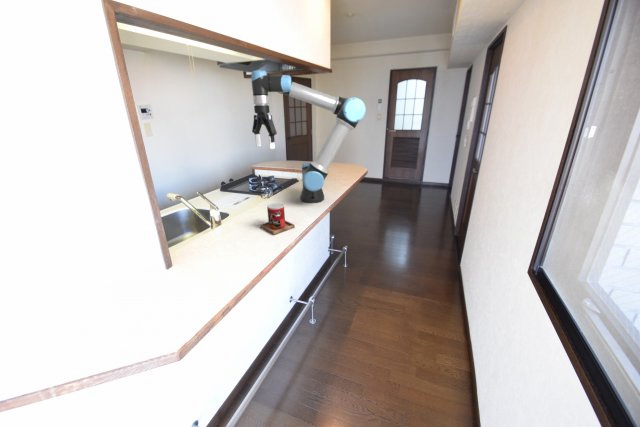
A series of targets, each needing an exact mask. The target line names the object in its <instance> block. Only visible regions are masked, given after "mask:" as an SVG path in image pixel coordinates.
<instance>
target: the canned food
mask: <svg viewBox="0 0 640 427" xmlns="http://www.w3.org/2000/svg"><path fill="white" fill-rule="evenodd" d="M285 214H286V213H285V206H284V203H283V202H273V203H269V204H268V205H267V218H268V219H267V220H268V221H267V222H269V227H270V228H271V229H274V230H278V229H282V228H284V227H285V221H286V217H285V216H286V215H285Z"/></svg>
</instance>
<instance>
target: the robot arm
mask: <svg viewBox="0 0 640 427" xmlns="http://www.w3.org/2000/svg"><path fill="white" fill-rule="evenodd" d="M250 73H251V77H250V78H251V80H250V81H251V89H252V96H253V97H252V98H253V105H254V106H253V109H254V115H253V123H252V128H251V129H252V130H251V131H252V133H253V134H254V138H255V147H257V148H258V147H261V146H262V142H261V140H262V139H261V133H260V132H261V129H262V126H264V127H265V129H266V131H267V132H268V142H269V143H268V144H269V145H268V146H269V149H270V150H274V149H276V146H275V144H276V143H275V140H276V139H275V136H276V135H277V134H278V131H277V129H276V127H275V123H274V121H273V116H272V115H271V114H269V113H270V112H271V111H270V106H269V104H270V100H269V99H270V98H269V93H278V94H281V95H284V96H288V97H290V98H293V99H297V100H299V101H302V102H304V103H308V104H311V105H314V106H316V107H319V108H322V109H324V110H327V111H330V112H331V113H332V115H335V120H336V123H335V124H334V126H332V129H331V131H330V133H329V135H328V137H327V138H326V140H325V142H324V144H322V145H323V146H321V149H320V150H319V152H318V155H317V156H316V158H315V160H313V161H310V162H306V163H305V162H304V163H302V165H301V170H302V171H301V172H302V173H301V175H302V176H301V177H302V181H301V182H302V189H301V190H302V191H301V192H300V193H301V194H300V196H299V197H300V201H301V202H303V203H309V204H316V203H321V202H323V201H324V200H325V194H324V191H323V186H324V185H325V180H326V178H327V176H328V175H329V168H330V167H331V164H332V162H333V161H334V159H335V157H336V156H337V154H338V152H339V150H340V149H341V147H342V146H343V144H344V142H345V140H346V139H347V137H348V135H349V133H350V132H351V131H352V130H355V129H356V127H357V125H358V124H359V122H361V121H362V120H363V118H365V115H366V112H367V108H366V104H365V103H364V101H363V100H362V99H360V98H358V97H355V96H354V97H349V98H347V97H341V96H338V95H337V96H333V95H330V94H328V93H325V92H321V91H320V90H317V89H313V88H311V87H308V86H307V85H303V84H300V83H297V82H295V81H293V80H292V76H290V75H289V74H288V75H287V74H281V75H279V74H278V75H277V74H275V75H271V74H270V75H268V74H267V71H266V70H257V69H256V70H252V71H251V72H250Z"/></svg>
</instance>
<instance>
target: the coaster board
mask: <svg viewBox="0 0 640 427" xmlns="http://www.w3.org/2000/svg"><path fill="white" fill-rule="evenodd" d="M259 228H260V229H262V230H264V231H265V232H267V233H268V234H270V235H273V236H277V235H279V234H282V233H284V232H287V231H289V230H293V229H295V224H294V223H291V222H290V221H287V220H285V227H284V228H282V229H278V230H274V229H271V228H270V227H269V221H267V222H263V223H260V224H259Z"/></svg>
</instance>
